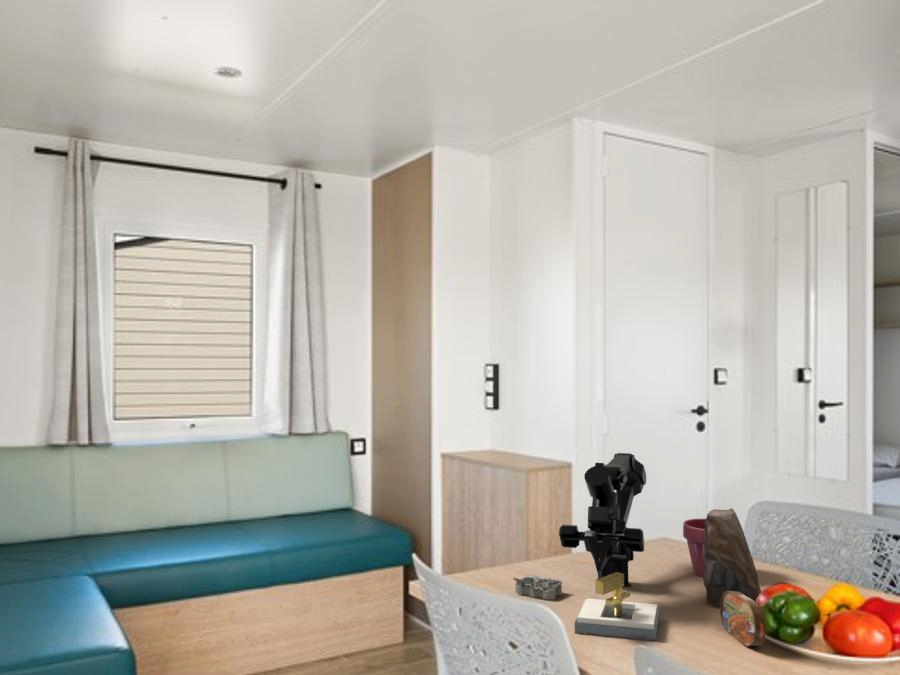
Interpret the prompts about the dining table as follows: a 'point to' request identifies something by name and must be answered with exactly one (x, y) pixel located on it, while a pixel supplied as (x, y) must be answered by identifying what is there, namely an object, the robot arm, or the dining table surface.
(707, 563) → the dark brown tall lump
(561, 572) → the dining table surface
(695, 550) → the plant pot
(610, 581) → the key
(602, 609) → the cover
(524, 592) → the egg carton
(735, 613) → the tin
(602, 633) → the grey flat block
